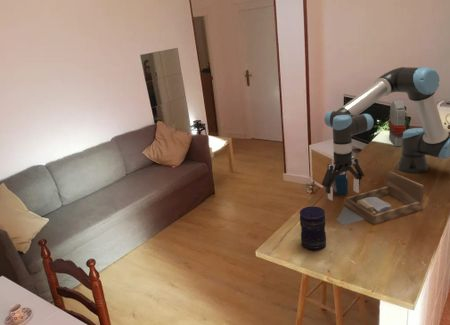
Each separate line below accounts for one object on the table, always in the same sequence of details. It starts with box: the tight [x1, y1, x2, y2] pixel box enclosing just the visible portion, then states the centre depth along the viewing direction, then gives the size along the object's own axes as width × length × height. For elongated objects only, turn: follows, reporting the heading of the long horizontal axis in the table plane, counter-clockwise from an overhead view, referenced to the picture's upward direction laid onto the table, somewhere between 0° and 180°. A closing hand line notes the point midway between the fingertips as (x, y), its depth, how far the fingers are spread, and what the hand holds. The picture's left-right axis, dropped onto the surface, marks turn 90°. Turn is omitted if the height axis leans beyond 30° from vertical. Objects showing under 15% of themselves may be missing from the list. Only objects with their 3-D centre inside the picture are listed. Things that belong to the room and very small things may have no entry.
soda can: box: [333, 170, 349, 197], centre depth 176 cm, size 7×7×12 cm
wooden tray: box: [343, 170, 425, 226], centre depth 158 cm, size 26×20×12 cm
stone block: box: [363, 197, 392, 214], centre depth 159 cm, size 12×5×10 cm
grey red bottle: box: [388, 99, 406, 147], centre depth 234 cm, size 19×6×30 cm, turn 168°
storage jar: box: [299, 206, 327, 252], centre depth 137 cm, size 10×10×15 cm
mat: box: [336, 205, 366, 226], centre depth 158 cm, size 11×16×1 cm
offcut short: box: [356, 199, 373, 212], centre depth 156 cm, size 3×8×2 cm, turn 12°
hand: (343, 195), depth 155 cm, fingers open, 13 cm apart
